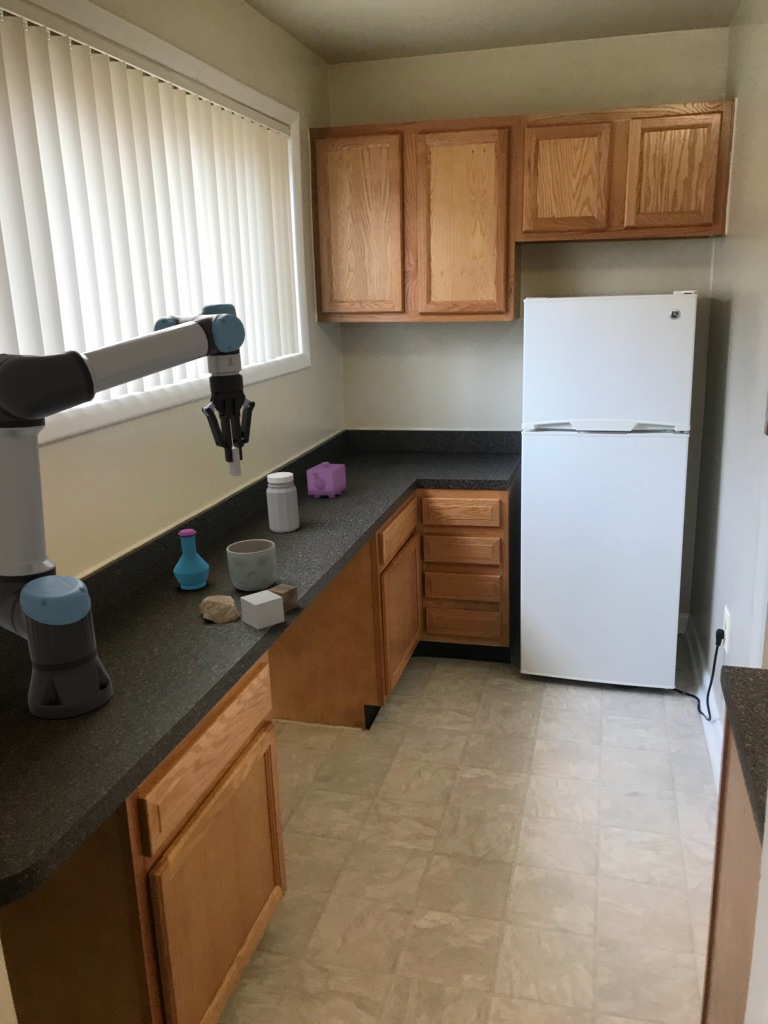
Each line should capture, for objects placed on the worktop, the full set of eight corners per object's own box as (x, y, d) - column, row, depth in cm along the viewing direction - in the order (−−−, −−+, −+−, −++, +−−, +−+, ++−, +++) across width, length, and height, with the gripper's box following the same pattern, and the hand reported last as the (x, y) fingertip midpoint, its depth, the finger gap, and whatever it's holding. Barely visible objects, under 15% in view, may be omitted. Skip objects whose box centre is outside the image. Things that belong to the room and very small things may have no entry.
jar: (295, 533, 265) (291, 477, 260) (265, 533, 267) (260, 478, 262) (303, 525, 274) (299, 471, 270) (274, 525, 276) (269, 471, 271)
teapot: (325, 489, 323) (322, 457, 320) (349, 490, 319) (347, 458, 316) (302, 502, 305) (299, 468, 302) (327, 503, 301) (324, 469, 298)
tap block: (257, 630, 190) (255, 605, 188) (242, 621, 195) (240, 597, 194) (284, 621, 194) (282, 597, 192) (269, 613, 199) (266, 589, 198)
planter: (242, 598, 210) (238, 556, 207) (223, 585, 220) (218, 545, 217) (286, 586, 217) (283, 546, 214) (265, 575, 227) (262, 536, 224)
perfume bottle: (192, 577, 228) (186, 524, 224) (218, 582, 223) (212, 527, 219) (168, 588, 220) (161, 533, 217) (194, 593, 216) (187, 537, 212)
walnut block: (284, 613, 199) (282, 593, 197) (269, 609, 202) (267, 589, 200) (298, 606, 203) (296, 586, 201) (283, 602, 206) (281, 583, 204)
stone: (233, 606, 205) (231, 588, 204) (241, 621, 196) (239, 602, 195) (198, 612, 203) (196, 594, 202) (205, 627, 193) (202, 609, 192)
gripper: (207, 377, 184) (218, 482, 190) (258, 371, 192) (268, 472, 198) (191, 375, 190) (203, 477, 196) (242, 370, 198) (252, 468, 204)
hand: (235, 475), depth 197 cm, fingers closed
